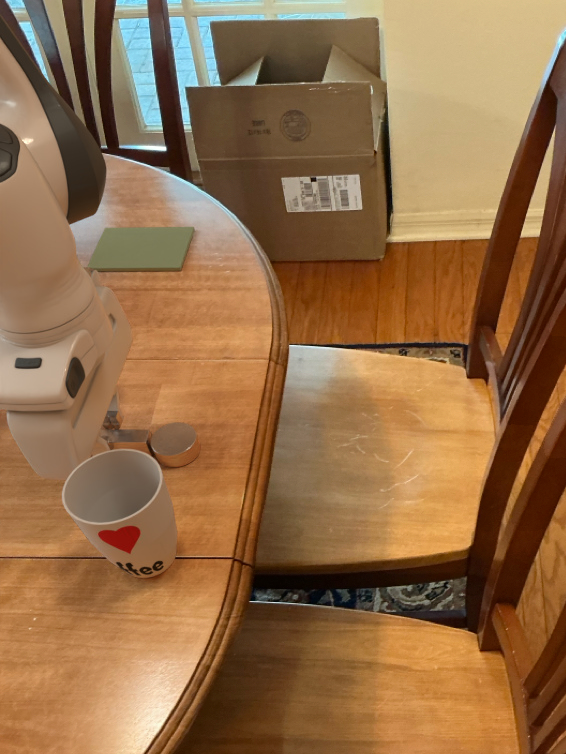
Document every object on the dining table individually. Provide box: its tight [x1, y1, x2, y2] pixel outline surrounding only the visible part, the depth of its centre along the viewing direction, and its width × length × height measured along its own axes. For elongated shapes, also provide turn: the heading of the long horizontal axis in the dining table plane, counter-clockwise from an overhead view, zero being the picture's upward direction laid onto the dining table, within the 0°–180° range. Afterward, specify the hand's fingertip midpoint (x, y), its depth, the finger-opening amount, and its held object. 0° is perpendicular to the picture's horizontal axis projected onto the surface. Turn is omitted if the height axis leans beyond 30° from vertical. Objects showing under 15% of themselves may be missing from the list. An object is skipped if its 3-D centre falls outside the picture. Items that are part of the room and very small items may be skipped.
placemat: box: [86, 226, 196, 272], centre depth 99 cm, size 12×9×1 cm
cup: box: [61, 449, 178, 579], centre depth 67 cm, size 8×8×10 cm
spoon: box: [90, 421, 202, 468], centre depth 78 cm, size 13×5×2 cm, turn 88°
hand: (110, 438), depth 77 cm, fingers open, 3 cm apart
